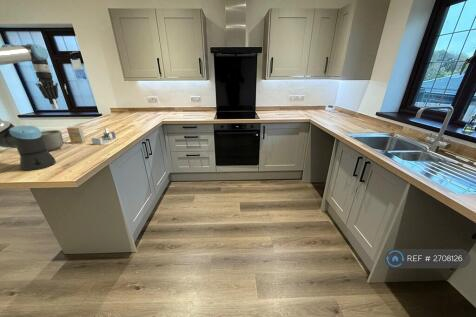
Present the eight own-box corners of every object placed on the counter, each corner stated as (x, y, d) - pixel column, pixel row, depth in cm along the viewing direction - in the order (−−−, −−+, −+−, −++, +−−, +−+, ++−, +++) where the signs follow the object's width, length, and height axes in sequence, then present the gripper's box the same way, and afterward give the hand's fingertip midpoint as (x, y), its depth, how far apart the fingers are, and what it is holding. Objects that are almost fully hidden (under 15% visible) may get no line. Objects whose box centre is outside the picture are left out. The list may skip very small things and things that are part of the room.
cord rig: (101, 144, 155) (99, 137, 152) (92, 144, 155) (90, 137, 153) (117, 138, 173) (116, 131, 170) (109, 137, 173) (107, 131, 171)
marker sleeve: (110, 138, 165) (107, 128, 162) (104, 138, 166) (101, 128, 162) (112, 137, 168) (110, 127, 165) (107, 137, 169) (104, 127, 165)
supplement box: (71, 143, 156) (66, 127, 152) (74, 142, 161) (69, 126, 156) (83, 143, 159) (78, 127, 154) (85, 141, 163) (81, 126, 158)
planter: (36, 151, 140) (29, 133, 135) (59, 145, 152) (53, 129, 147) (48, 153, 135) (41, 135, 130) (70, 147, 147) (65, 131, 142)
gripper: (37, 71, 119) (51, 110, 128) (57, 72, 131) (68, 107, 140) (26, 71, 120) (40, 110, 129) (47, 72, 132) (59, 107, 141)
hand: (55, 108), depth 134 cm, fingers closed
